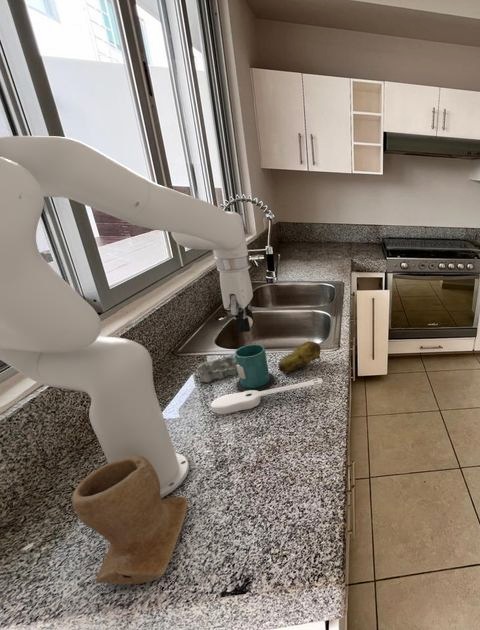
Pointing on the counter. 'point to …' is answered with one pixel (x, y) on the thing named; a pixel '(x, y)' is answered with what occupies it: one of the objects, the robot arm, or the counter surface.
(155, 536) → the stone cup
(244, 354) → the bin
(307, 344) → the olive green oblong piece
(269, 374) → the bin stand
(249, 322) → the paper ball
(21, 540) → the counter surface
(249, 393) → the white handheld wand
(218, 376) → the egg carton
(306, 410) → the counter surface
